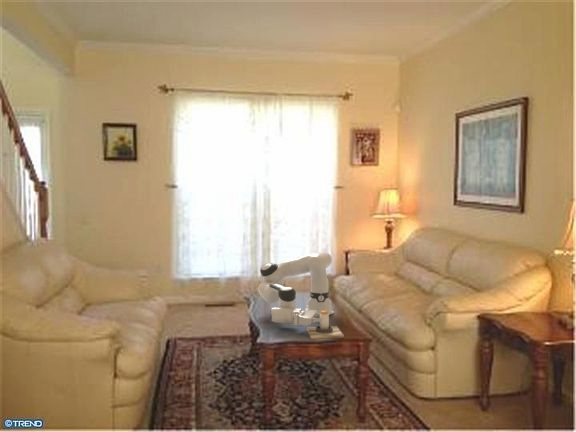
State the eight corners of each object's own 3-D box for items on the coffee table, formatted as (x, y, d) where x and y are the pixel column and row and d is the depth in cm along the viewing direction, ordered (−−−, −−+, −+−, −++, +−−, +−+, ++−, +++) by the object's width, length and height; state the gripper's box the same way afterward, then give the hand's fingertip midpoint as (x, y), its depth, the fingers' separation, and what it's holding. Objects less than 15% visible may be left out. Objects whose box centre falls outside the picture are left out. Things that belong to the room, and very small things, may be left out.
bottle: (318, 330, 294) (319, 310, 294) (327, 329, 295) (327, 310, 294) (320, 332, 289) (320, 312, 289) (329, 332, 290) (329, 312, 289)
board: (305, 329, 300) (305, 323, 300) (336, 328, 302) (337, 323, 302) (310, 338, 282) (310, 332, 282) (343, 337, 284) (343, 331, 284)
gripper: (301, 317, 305) (325, 318, 302) (294, 326, 285) (319, 328, 282) (301, 306, 305) (325, 308, 302) (294, 315, 285) (319, 316, 282)
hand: (322, 317), depth 292 cm, fingers open, 8 cm apart
